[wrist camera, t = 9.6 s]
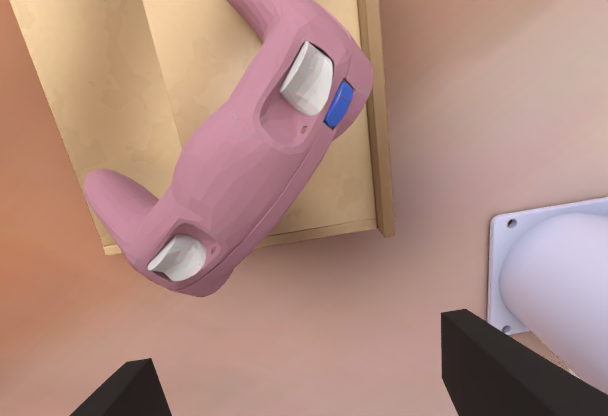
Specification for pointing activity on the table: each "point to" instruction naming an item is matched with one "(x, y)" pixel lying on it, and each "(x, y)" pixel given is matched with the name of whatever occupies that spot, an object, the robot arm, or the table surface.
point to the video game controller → (242, 152)
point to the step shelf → (195, 100)
